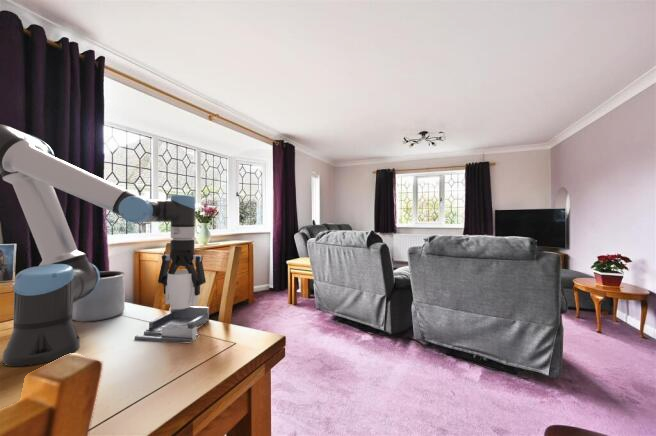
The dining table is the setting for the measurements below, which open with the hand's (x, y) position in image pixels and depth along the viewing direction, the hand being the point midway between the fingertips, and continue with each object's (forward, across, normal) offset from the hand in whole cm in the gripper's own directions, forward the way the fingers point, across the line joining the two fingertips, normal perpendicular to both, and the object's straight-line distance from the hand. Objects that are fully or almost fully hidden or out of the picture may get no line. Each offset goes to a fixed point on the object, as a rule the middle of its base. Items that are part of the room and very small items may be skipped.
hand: (181, 303), depth 103 cm
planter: (+8, -36, +5) cm, 37 cm away
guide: (+8, +2, -10) cm, 13 cm away
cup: (+1, 0, 0) cm, 1 cm away
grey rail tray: (+8, 0, -1) cm, 8 cm away
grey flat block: (+8, +6, -10) cm, 14 cm away
